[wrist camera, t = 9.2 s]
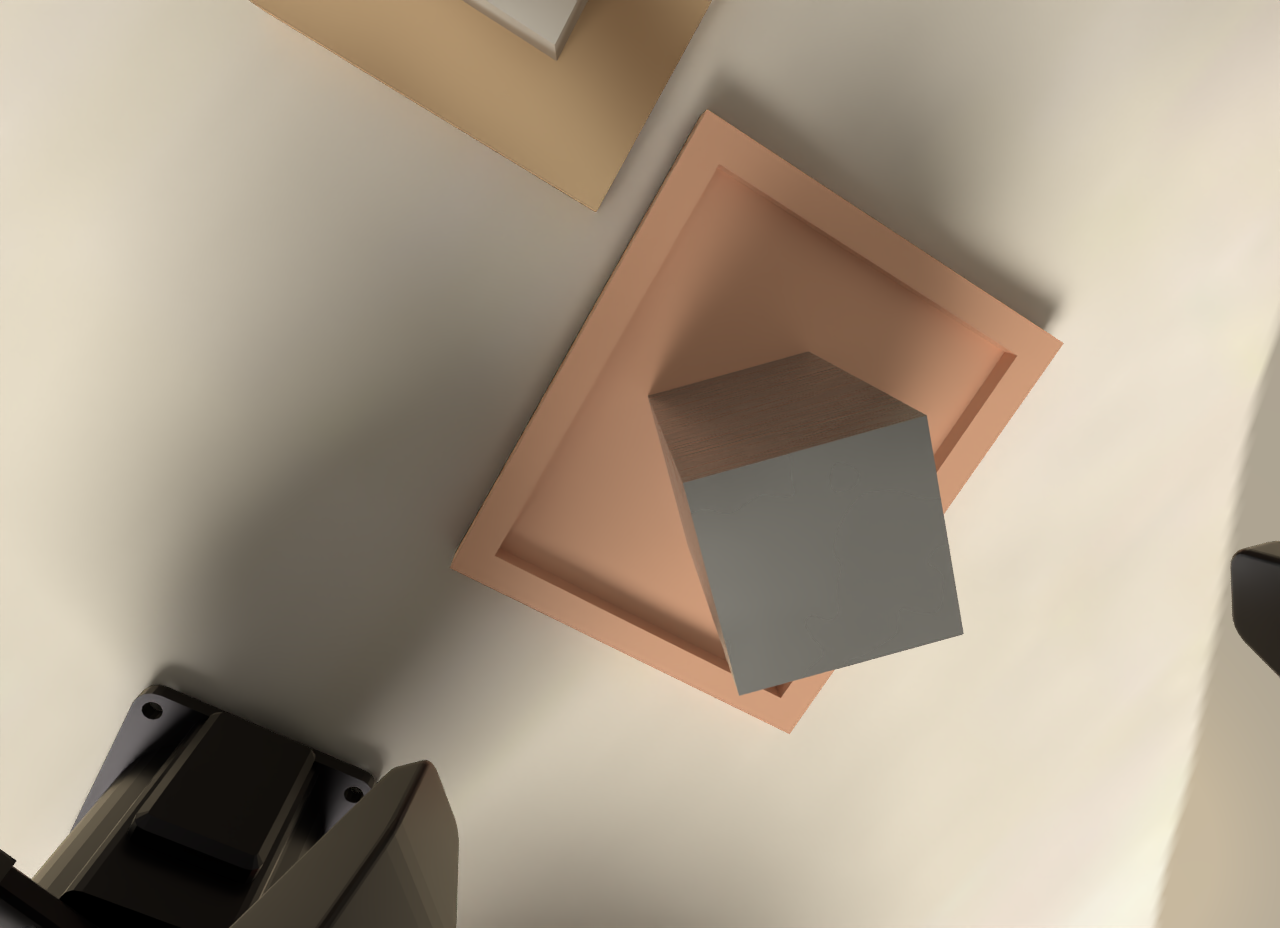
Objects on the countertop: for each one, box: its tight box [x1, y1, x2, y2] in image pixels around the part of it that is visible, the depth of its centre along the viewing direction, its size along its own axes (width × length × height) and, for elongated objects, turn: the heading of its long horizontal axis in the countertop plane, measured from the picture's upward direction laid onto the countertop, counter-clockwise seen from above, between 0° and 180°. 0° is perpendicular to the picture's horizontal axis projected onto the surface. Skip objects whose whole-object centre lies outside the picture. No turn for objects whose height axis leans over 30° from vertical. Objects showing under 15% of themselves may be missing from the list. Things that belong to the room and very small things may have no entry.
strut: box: [648, 351, 963, 696], centre depth 17 cm, size 4×4×7 cm
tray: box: [450, 109, 1063, 734], centre depth 20 cm, size 12×10×1 cm
